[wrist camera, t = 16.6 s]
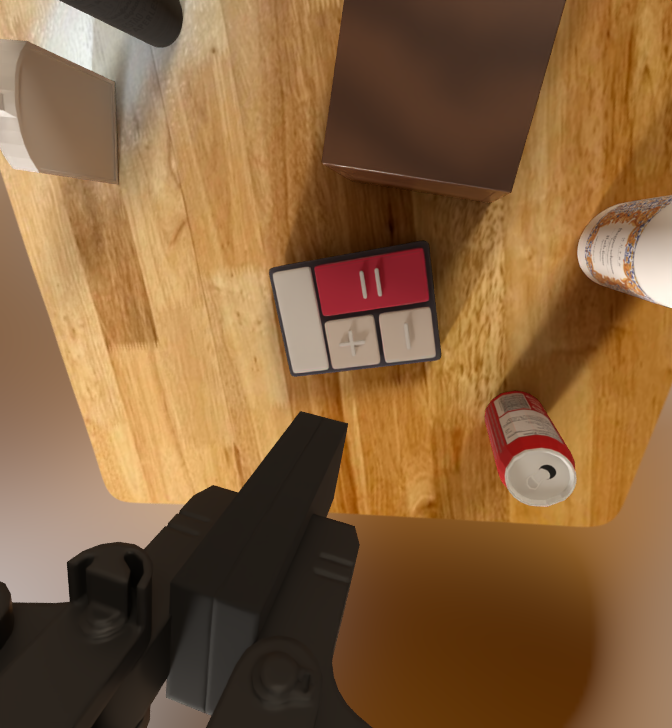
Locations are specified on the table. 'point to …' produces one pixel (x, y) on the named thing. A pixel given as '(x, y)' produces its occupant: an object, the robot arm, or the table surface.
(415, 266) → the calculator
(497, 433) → the soda can
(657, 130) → the table surface
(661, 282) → the bath foam
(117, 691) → the robot arm
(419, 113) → the chest lid
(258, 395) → the table surface
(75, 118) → the gravestone
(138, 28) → the drinking cup
